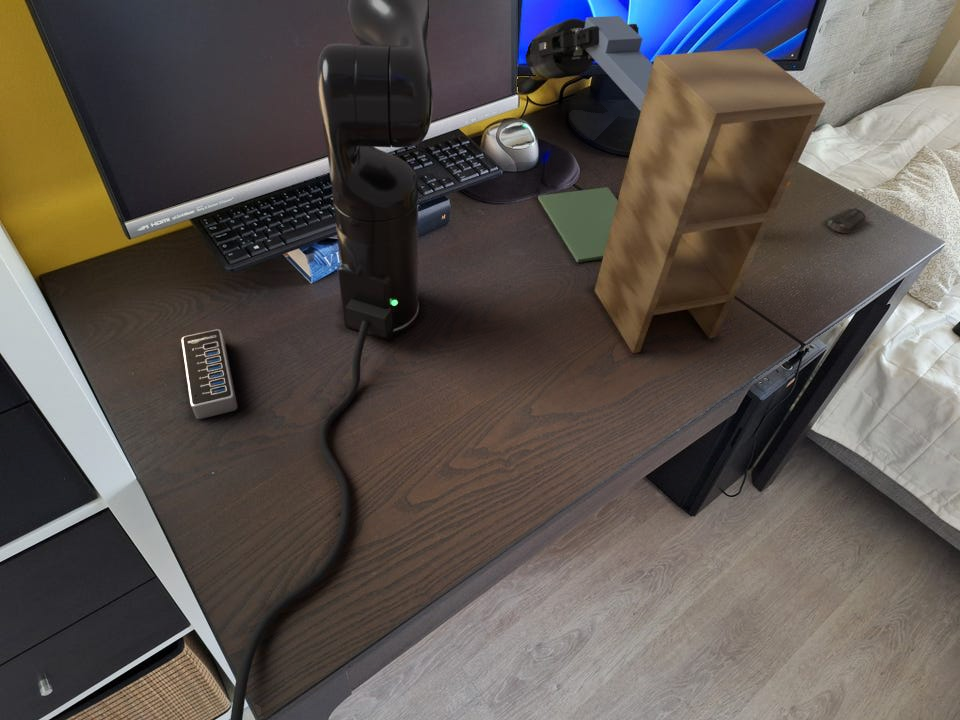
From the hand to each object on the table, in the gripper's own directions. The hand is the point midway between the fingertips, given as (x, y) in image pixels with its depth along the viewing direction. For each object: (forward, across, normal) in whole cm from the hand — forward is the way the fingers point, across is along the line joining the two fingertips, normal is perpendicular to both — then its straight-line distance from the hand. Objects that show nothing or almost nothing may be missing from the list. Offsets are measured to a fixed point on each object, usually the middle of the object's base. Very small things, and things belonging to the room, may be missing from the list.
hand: (615, 34), depth 86 cm
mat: (-8, 0, +25) cm, 26 cm away
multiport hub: (+7, -56, +34) cm, 66 cm away
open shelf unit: (+9, 0, +35) cm, 36 cm away
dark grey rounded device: (-1, +40, +30) cm, 50 cm away
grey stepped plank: (+3, 0, +6) cm, 6 cm away
